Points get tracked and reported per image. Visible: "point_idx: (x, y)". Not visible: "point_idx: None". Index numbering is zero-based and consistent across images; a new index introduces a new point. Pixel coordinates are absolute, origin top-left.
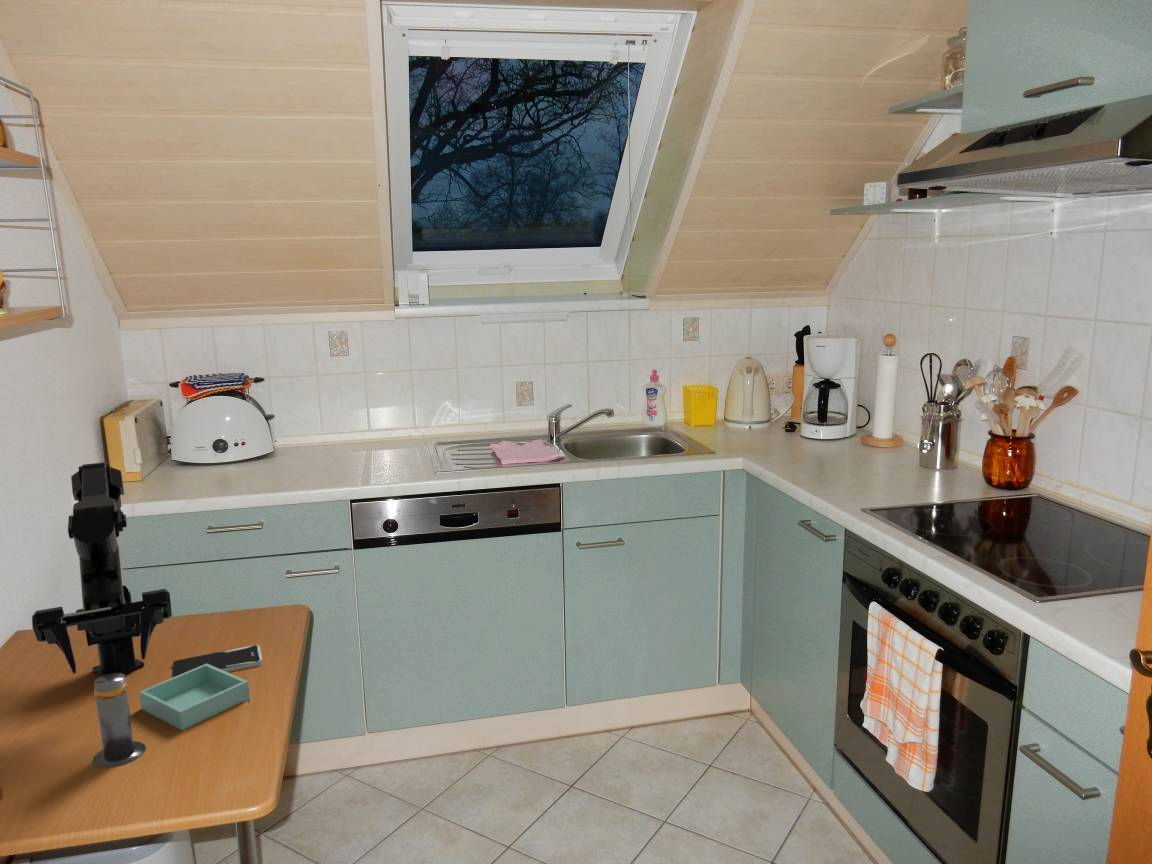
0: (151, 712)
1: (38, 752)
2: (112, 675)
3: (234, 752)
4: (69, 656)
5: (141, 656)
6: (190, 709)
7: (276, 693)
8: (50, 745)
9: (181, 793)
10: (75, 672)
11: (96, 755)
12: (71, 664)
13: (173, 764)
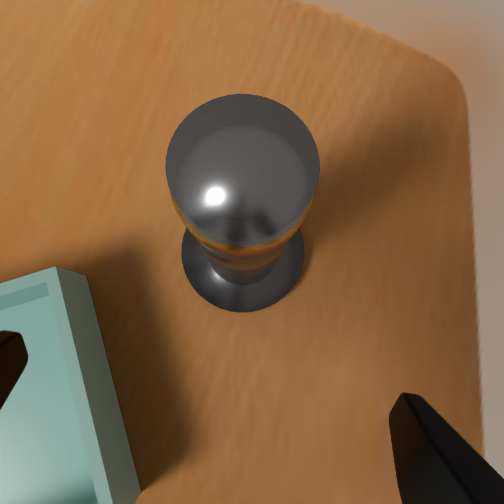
0: (120, 437)
1: None
2: (220, 203)
3: (20, 106)
4: (480, 474)
5: (16, 334)
6: (24, 277)
7: None
8: (387, 445)
9: (164, 24)
10: (396, 403)
11: (292, 281)
12: (440, 422)
13: (147, 142)
